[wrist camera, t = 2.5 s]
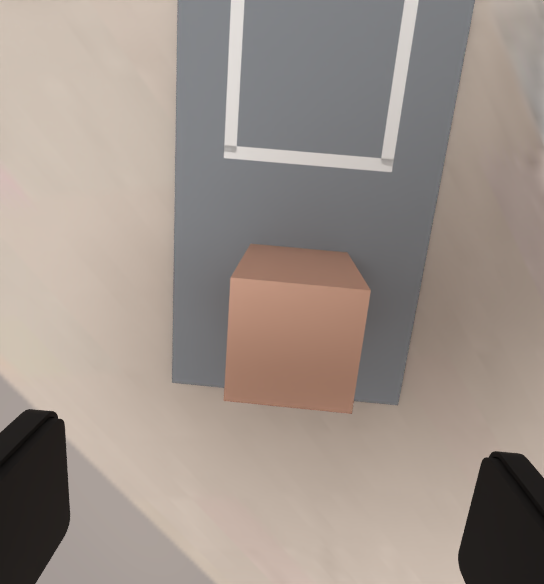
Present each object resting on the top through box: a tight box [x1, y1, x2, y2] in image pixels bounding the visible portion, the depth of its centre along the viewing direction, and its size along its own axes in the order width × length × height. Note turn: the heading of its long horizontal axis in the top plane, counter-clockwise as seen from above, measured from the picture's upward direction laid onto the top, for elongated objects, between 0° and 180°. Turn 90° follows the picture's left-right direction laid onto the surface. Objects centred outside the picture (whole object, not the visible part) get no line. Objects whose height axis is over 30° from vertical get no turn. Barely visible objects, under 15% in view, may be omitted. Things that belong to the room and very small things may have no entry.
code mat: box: [172, 0, 475, 405], centre depth 21 cm, size 13×23×1 cm, turn 175°
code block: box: [224, 244, 371, 414], centre depth 19 cm, size 5×5×7 cm
